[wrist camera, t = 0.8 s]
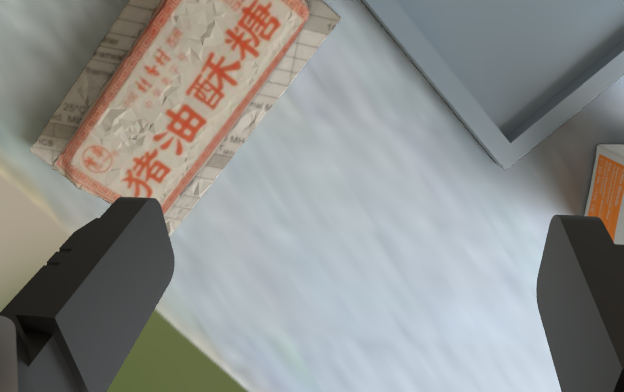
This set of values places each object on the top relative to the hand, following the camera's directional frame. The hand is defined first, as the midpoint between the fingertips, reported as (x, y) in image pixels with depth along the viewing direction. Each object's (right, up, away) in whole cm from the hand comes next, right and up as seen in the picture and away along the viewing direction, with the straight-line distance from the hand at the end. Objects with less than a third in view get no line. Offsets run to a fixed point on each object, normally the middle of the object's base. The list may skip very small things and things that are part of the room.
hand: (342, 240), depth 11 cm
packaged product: (-8, +8, +21) cm, 24 cm away
